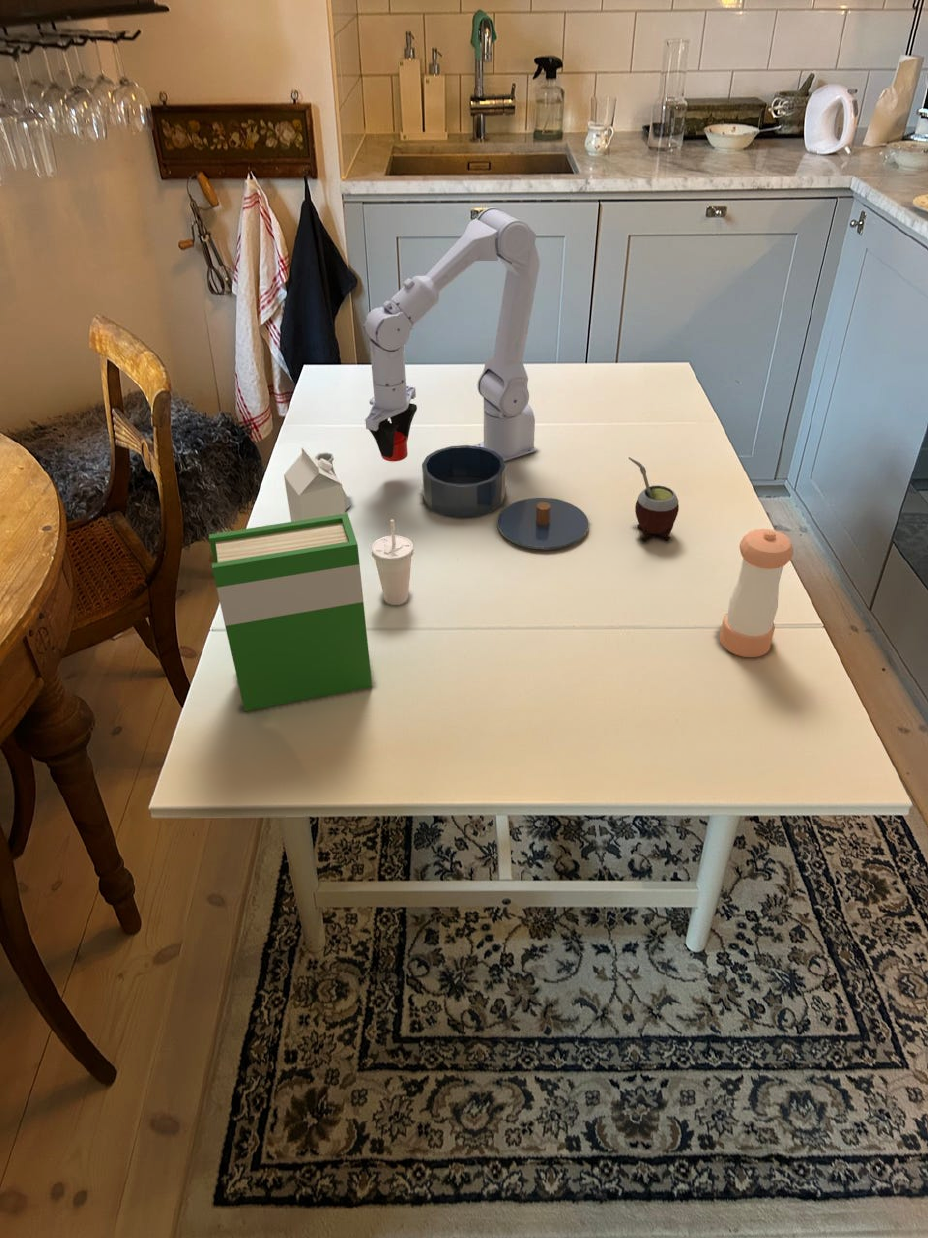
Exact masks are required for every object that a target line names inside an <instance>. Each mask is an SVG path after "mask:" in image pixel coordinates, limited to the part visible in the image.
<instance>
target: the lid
mask: <svg viewBox="0 0 928 1238" xmlns="http://www.w3.org/2000/svg"><path fill="white" fill-rule="evenodd" d="M497 529H498V531H499V532H500V534H501V535H502V536H503V537H504V538H505V539H507V540H508V541H509V542H511V543H514V544H515V545H518V546H519V547H520V546H521V547H525V548H528V549H532V550H555V549H556V550H557V549H561V548H565V547H569V546H572V545H574V544H576V543H578V542H580V540H582V539H583V538H584V537H585V536H586V534H587V532H588V530H589V519H588V517H587V514H585V512H584V511H583V510H582V509H581V508H579V507H578V506H576V505H574V504H573V503H570V502H568V501H566V500H565V501H564V500H562V499H557V498H552V497H531V498H526V499H521V500H518V501H515V502H513V503H511V504H509V505H507V506H505V507H504V508H503V509H502V510H501V512H499V515H498V517H497Z"/></svg>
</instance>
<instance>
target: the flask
mask: <svg viewBox="0 0 928 1238" xmlns="http://www.w3.org/2000/svg"><path fill="white" fill-rule="evenodd" d="M314 458H315V459H317V460H320V459H321V458H322V459H325V460H327V461H328V462H329V463H331V464H332V468H331V469H330V470H331V471H332V472H333V474H334V475H335V476H336V477H337V478H338V476H337V474H336V471H335V469H334V465H333V462H334V459H335V457H334V453H332V452H331V453H330V452H319V453H318V454H316V455H315V456H314ZM343 496H344V505H345V511H347V510H348V509H349V508H350V506H351V504H350V500H349V497H348V495H347V493H346V491H345V489H344V488H343Z"/></svg>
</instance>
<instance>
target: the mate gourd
mask: <svg viewBox="0 0 928 1238" xmlns="http://www.w3.org/2000/svg"><path fill="white" fill-rule="evenodd" d="M628 460H630V461H631V462H632V463H634V464H635V465H636V466H637V467H638V468H639V471H640V474H642V479H643V483H644V485H645V488H644V489H643V490H642V491H641V492H640V493H639V494H638V497H637V500H636V502H635V507H634V508H635V510H634V511H635V517H636V520H637V523H638V524H637V529H638V530H640V531H642V534H643V535H642V537H641V538H640V539H641V542H644V543H646V542H647V541H649V540H650V539H652V538H653V537H655V538H659V539H661V540H662V541H666V542H669V541H670V540H671V537H670V534H671V532H672V530H673V528H674V524H675V522H676V519H677V517H678V514H679V510H680V509H679V508H680V506H679V499H678V496H677V495H676V493H675V491H674V490H672V488H670V487H667V486H665V485H660V484H659V485H657V484H656V485H650V483H649V481H648V476H647V470H646V468H645V466H643V465H642V463H641V462H639V461H637V460H636V459H634V458H632V457H630V456H629V457H628Z"/></svg>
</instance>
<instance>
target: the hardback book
mask: <svg viewBox="0 0 928 1238" xmlns="http://www.w3.org/2000/svg"><path fill="white" fill-rule="evenodd" d="M208 539H209V545H210V549H211V554H212V558H213V562H212V563H211V569H212V573H213V578H214V582H215V586H216V587H215V588H216V591H217V596H218V600H219V604H220V608H221V614H222V618H223V622H224V626H225V631H226V635H227V640H228V644H229V649H230V653H231V657H232V663H233V666H234V672H235V675H236V680H237V684H238V689H239V694H240V698H241V702H242V707H243V711H244V712H248V711H253V710H259V709H264V708H268V707H269V708H270V707H274V706H278V705H283V704H289V703H296V702H299V701H300V702H301V701H305V700H311V699H315V698H320V697H326V696H331V695H336V694H341V693H348V692H352V691H357V690H358V691H359V690H362V689H368V688H372V687H373V681H372V671H371V661H370V651H369V642H368V632H367V625H366V624H367V623H366V612H365V603H364V594H363V593H364V592H363V584H362V583H363V582H362V573H361V564H360V563H361V562H360V554H359V545H358V540H357V539H356V535H355V532H354V529H353V526H352V522H351V520H350V517H349V514H348V513H347V512H345V514H339V515H333V516H326V517H320V518H313V519H307V520H300V521H294V522H291V521H287V522H282V523H276V524H268V525H262V526H256V527H248V528H243V529H236V530H229V531H223V532H218V533H217V532H216V533H210V534H208Z"/></svg>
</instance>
